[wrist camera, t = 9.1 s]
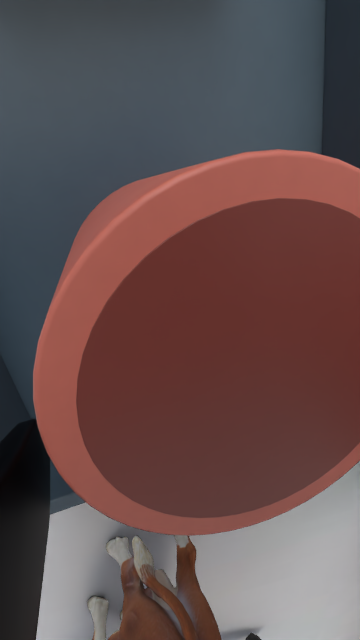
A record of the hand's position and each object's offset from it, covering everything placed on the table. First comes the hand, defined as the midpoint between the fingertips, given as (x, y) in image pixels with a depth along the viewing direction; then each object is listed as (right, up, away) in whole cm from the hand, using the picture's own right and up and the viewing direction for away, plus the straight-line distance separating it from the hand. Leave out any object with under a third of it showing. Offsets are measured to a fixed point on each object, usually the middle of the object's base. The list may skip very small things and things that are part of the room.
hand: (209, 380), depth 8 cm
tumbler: (-1, +2, +4) cm, 4 cm away
